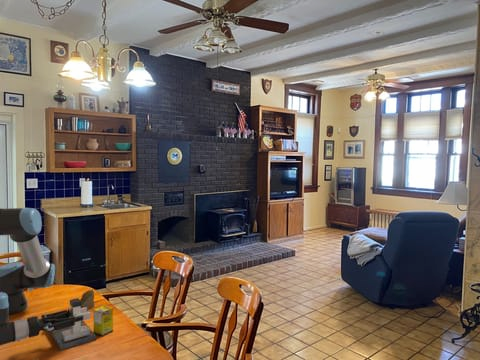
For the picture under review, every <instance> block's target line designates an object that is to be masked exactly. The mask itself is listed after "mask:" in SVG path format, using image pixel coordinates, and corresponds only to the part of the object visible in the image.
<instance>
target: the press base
mask: <svg viewBox="0 0 480 360" xmlns="http://www.w3.org/2000/svg"><path fill="white" fill-rule="evenodd" d="M70 317H71V316H70ZM70 317H69V318H70ZM85 325H87V327H88V328H89V329H90V335H87V336H84V337H80V338H77V339H73V340H70V341H66V342H64V340H63V339H62V331H66V330H70V329H71V326H70V327H67V328H63V329H59V330H55V331H53V332H50V333H49V334H50V336H51V337H52V338H53V341H54V342H55V345H57V347H58V349H59V351H64V350H66V349H70V348H74V347H77V346H81V345H83V344H88V343H91V342H94V341H96V340H97V336H96V335H97V334H95V333H94V330H92V329H91V328H90V327H89V325H88V324H87V323H86V322H85V320H83V321H81V326H85Z"/></svg>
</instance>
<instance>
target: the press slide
mask: <svg viewBox="0 0 480 360" xmlns="http://www.w3.org/2000/svg"><path fill="white" fill-rule="evenodd" d="M80 300H81V298H78V297H77V298H71V299H69V308H70V314H71V317H74V316H75V315H79V314H81V301H80ZM87 326H88V324H87V325H85V326H81V321H79V322H75V325H74V326H71V329H70V330H66V331H62V339H63V340H64V342H66V341H70V340H73V339H77V338H80V337H84V336H87V335H90V329H91V328H90V327H89V326H88V327H89V328H90V329H89V328H88V327H87Z"/></svg>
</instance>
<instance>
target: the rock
mask: <svg viewBox="0 0 480 360" xmlns="http://www.w3.org/2000/svg"><path fill="white" fill-rule="evenodd" d="M80 301H81V308H87V310H90V309H92V308H94V307H95V293H94V289H89V290H87V291H85V292H83V293H82V295H81V298H80Z"/></svg>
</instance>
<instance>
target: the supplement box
mask: <svg viewBox="0 0 480 360" xmlns="http://www.w3.org/2000/svg"><path fill="white" fill-rule="evenodd" d="M113 309H114V308H113V307H111V306H107V305H101V306H99V307H97V308H94V309H93V310H92V311H93V333H94V334H95V335H97V336H100V337H104V336H107V335H108V334H110V333H113V332H114V311H113Z"/></svg>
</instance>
